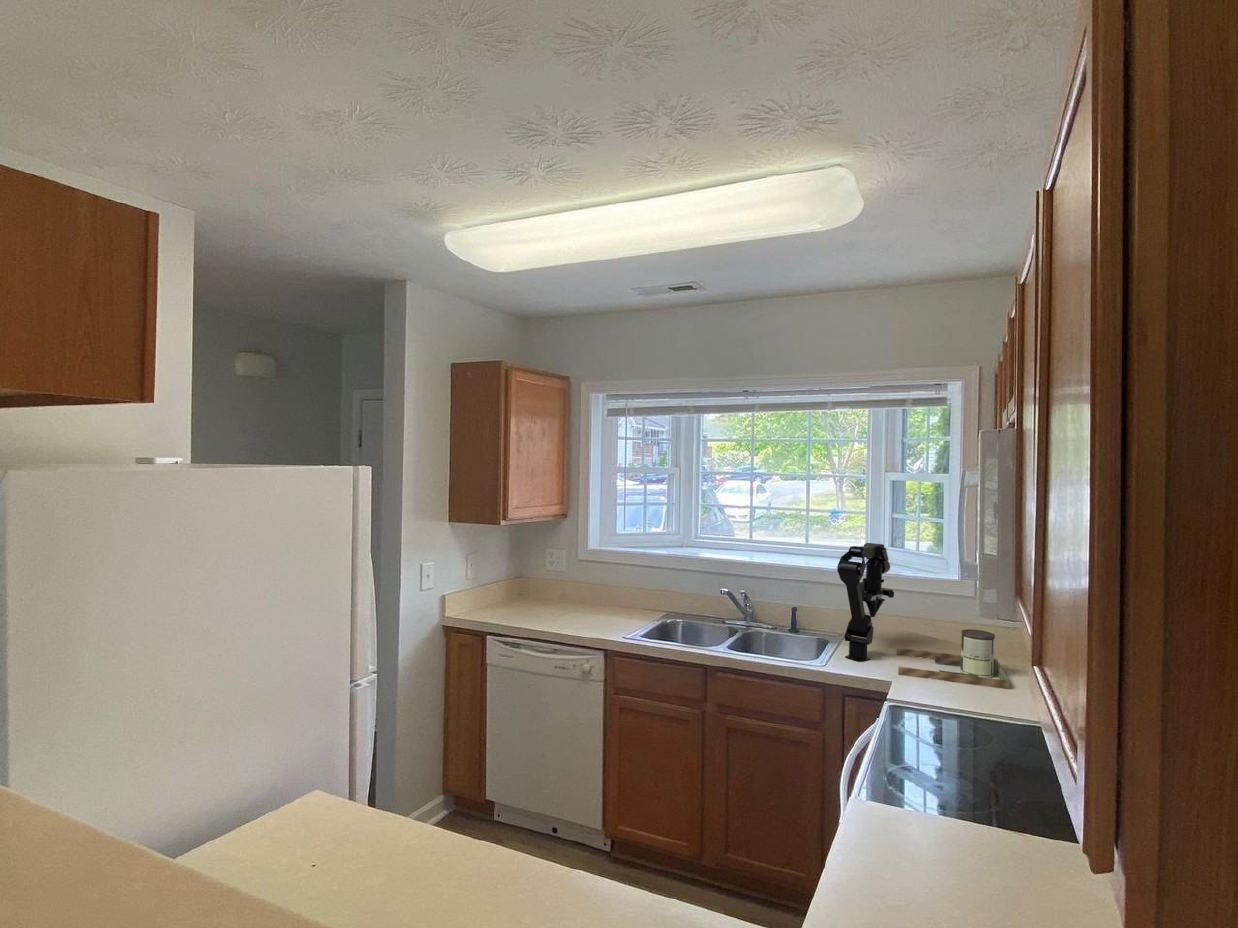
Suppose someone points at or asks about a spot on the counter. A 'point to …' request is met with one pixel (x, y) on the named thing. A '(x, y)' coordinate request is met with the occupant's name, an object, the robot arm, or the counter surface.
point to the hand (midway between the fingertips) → (872, 616)
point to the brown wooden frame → (951, 676)
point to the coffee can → (977, 653)
